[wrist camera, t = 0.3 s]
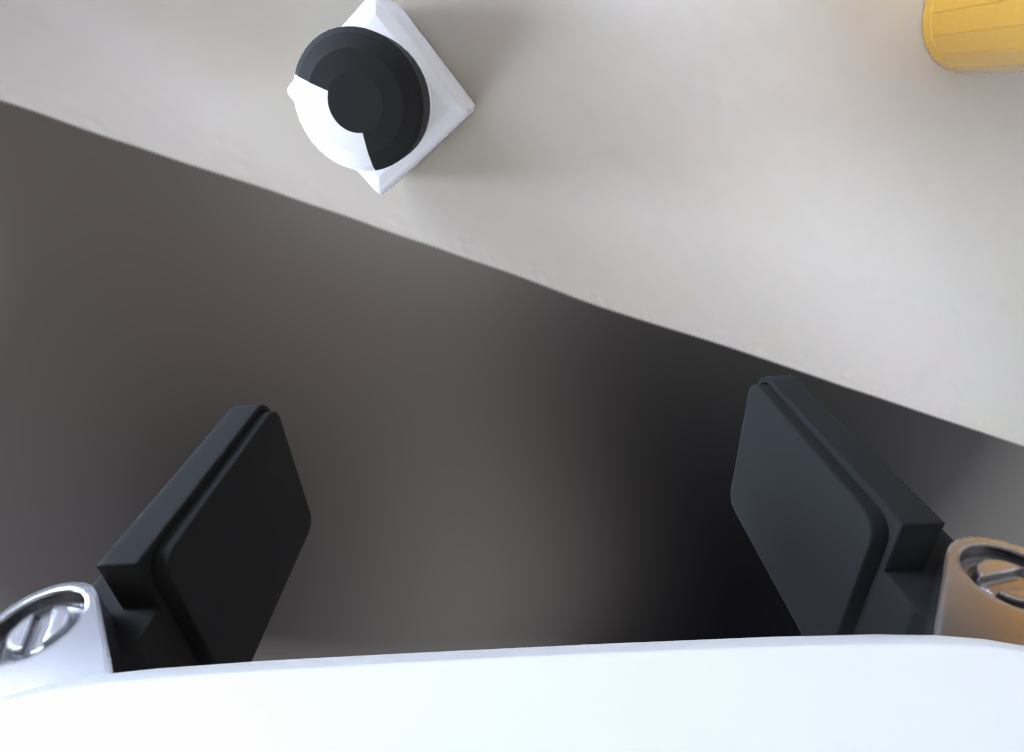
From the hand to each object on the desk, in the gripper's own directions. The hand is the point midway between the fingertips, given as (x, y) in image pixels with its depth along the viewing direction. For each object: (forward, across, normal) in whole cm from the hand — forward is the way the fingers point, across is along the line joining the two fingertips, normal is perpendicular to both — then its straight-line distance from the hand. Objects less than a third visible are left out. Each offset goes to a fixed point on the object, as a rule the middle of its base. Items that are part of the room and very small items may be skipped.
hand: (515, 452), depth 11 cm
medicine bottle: (+31, +7, -6) cm, 32 cm away
